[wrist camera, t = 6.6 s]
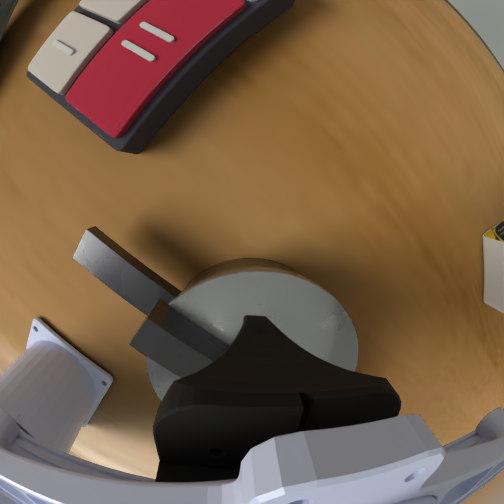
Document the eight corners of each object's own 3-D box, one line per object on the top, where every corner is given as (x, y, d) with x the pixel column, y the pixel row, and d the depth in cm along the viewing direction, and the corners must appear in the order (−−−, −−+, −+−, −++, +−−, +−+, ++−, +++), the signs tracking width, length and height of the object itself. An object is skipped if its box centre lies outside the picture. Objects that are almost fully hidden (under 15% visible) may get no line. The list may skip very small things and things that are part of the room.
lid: (401, 350, 14) (424, 375, 11) (284, 453, 16) (290, 483, 13) (223, 209, 12) (221, 216, 9) (111, 369, 13) (94, 399, 10)
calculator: (17, 72, 9) (175, -77, 6) (51, 85, 13) (184, -46, 10) (113, 153, 11) (307, -30, 8) (143, 158, 15) (295, 5, 13)
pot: (277, 414, 19) (283, 446, 16) (76, 291, 16) (50, 312, 12) (366, 325, 18) (389, 350, 14) (149, 163, 14) (128, 157, 11)
